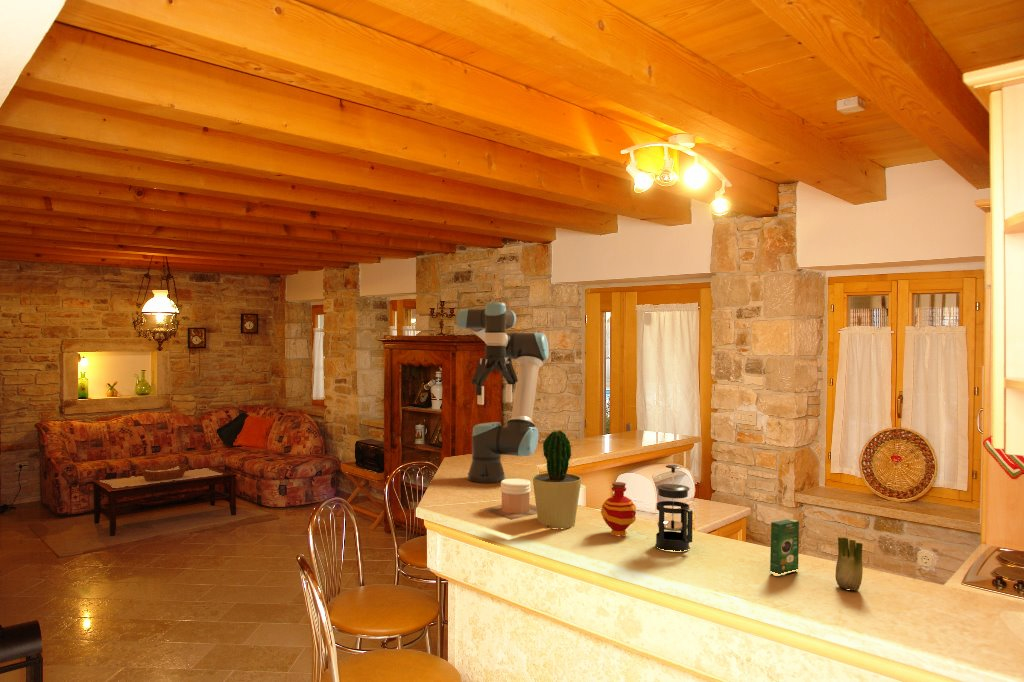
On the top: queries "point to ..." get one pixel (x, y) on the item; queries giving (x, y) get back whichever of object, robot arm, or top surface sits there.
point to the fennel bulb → (849, 564)
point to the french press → (671, 538)
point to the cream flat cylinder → (515, 486)
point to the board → (498, 511)
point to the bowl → (515, 503)
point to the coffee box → (784, 546)
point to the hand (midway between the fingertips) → (495, 403)
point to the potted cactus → (557, 484)
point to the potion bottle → (618, 510)
